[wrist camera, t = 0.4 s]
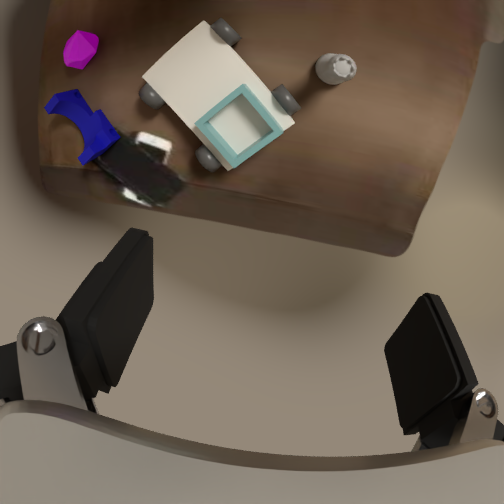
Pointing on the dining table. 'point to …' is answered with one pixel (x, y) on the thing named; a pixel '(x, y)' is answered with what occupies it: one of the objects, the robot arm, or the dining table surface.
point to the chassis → (218, 96)
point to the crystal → (80, 49)
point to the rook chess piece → (335, 68)
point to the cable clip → (85, 123)
